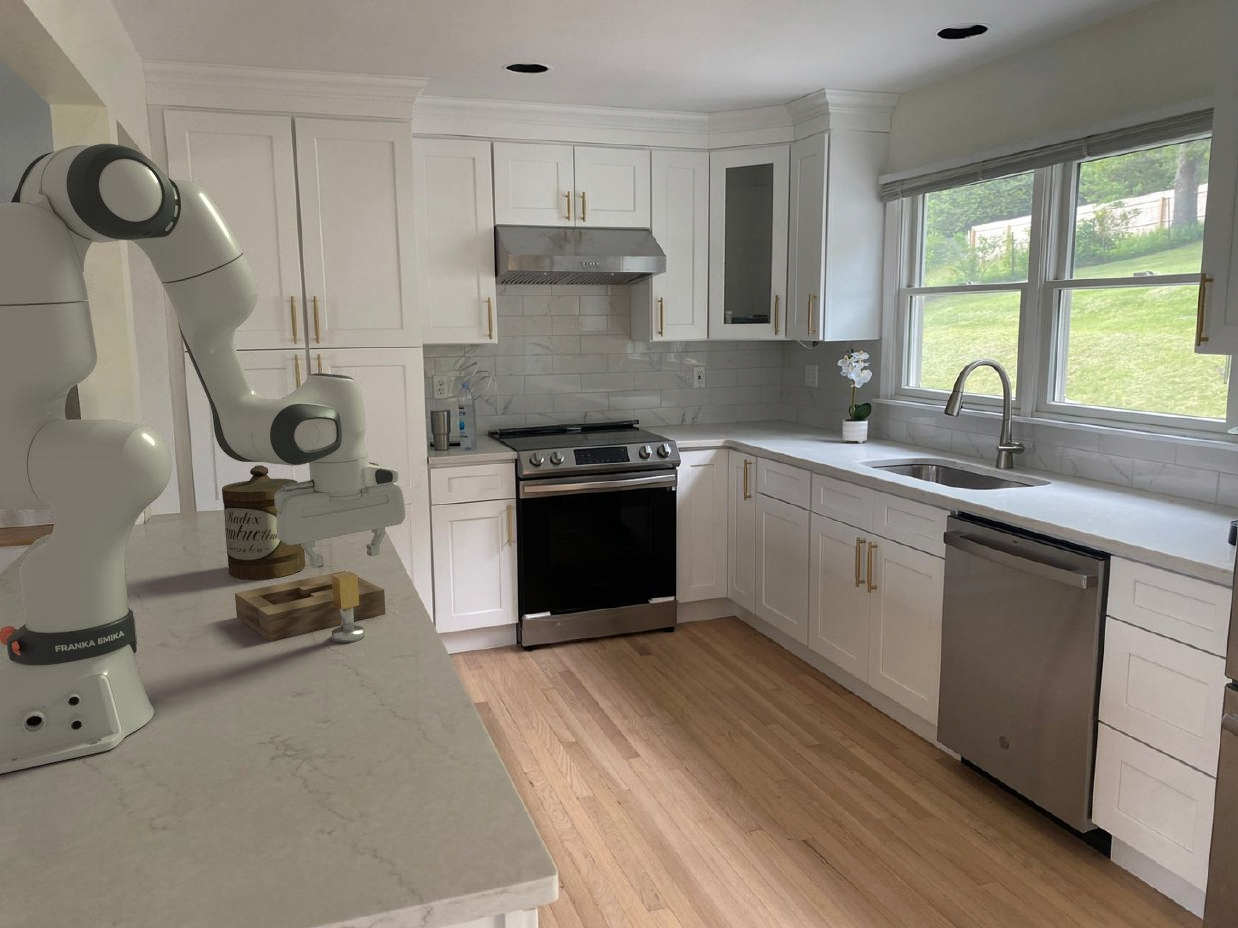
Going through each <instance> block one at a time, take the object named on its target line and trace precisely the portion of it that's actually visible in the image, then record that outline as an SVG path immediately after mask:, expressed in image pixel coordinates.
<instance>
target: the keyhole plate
mask: <svg viewBox="0 0 1238 928" xmlns="http://www.w3.org/2000/svg"><path fill="white" fill-rule="evenodd" d="M343 572H347V571H346V570H344V571H338V572H332V573H329V574H323V575H319V576H318V575H317V576H313V577H307V578H303V579H298V580H294V581H288V582H283V583H277V584H274V585H273V584H272V585H268V586H263V587H259V588H253V589H248V590H243V591H238V592H235V593H234V599H235V601H234V602H235V613H236V618H237V619H238V618H239V620H240V621H241V622H242V623H243V624H245V623H246V624H245V625H247V626H248V627H250V628H251V629H252V628H253V629H252V630H254V631H255V632H257V633H258V634H259V635H261V636H262V637H263V638H265V639H266V640H267V641H269V642H273V641H277V640H282V639H286V638H290V637H294V636H298V635H302V634H306V633H311V632H314V631H318V630H323V629H328V628H332V627H336V626H341V616H340V608H338V607H336V606H335V605H333V590H332V575H333V574H338V573H343ZM357 577H358V593H359V605H358V606H353V615H354V622H356V621H361V620H364V619H368V618H374V617H377V616H381V615H385V614H386V613H387V612H386V596H385V588H383V587H380V586H378V585H377V584H374V583H372V582H370V581H367V580H365V579H363V578H361V577H359V576H357Z"/></svg>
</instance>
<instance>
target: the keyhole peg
mask: <svg viewBox="0 0 1238 928" xmlns="http://www.w3.org/2000/svg"><path fill="white" fill-rule="evenodd" d="M358 577H359V576H358V574H356V573H354V572H351V571H349V570H348V571H346V572H343V573H338V574H333V575H332V590H333V605H335V606H336V607H338V608H340V616H341V624H340V627H336V628H334V629H333V630H332V631H331V639H332V642H333V643H337V644H352V643H355V642H359V641H360V640H361V641H362V640H363V639H365V628H364V627H363V626H361V625H355V621H354V615H353V606H358V605H359V593H358Z"/></svg>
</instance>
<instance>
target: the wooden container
mask: <svg viewBox="0 0 1238 928" xmlns="http://www.w3.org/2000/svg"><path fill="white" fill-rule="evenodd" d="M249 473H250V475H252V476H251V478H250V479H249V480H244V481H238V482H233V483H229V484H226V485H224V486H222V487H221V495H222V497H221V498H222V502H223V511H224V513H223V514H224V526H225V528H224V531H225V545H226V555H227V565H228V574H229V576H230V577H232V578H235V579H240V580H245V579H247V580H249V581H250V580H251V581H254V580H255V581H256V580H257V581H258V580H271V579H274V578H275V579H276V578H281V577H282V578H283V577H286V576H291V575H293V574H296V573H298V572H301V571H302V570H303V569H305V567H306V552H305V550H304V549H303V548H302V546H301V543H300V544H295V545H287V544H285V543H283V542H282V541H280V540H279V539H278V537H277V533H276V520H277V511H276V509H275V501H274V496H275V493H276V492H277V490H278V489H280V488H282V487H283V485H285V484H289V483H292V484H294V483H299V481H297V480H295V479H291V478H271V477H270V476H269V475H268V474H269V469H268V467H266V466H265V465H261V464H260V465H259V464H258V465H254V467H252V468H250V470H249ZM283 491H284V490H282V491H280V492H283Z"/></svg>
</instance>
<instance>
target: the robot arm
mask: <svg viewBox="0 0 1238 928" xmlns="http://www.w3.org/2000/svg"><path fill="white" fill-rule="evenodd" d="M118 241H131V242H132V243H134V244H135V245H137V246H138V248H140V249H141V251H142V252H143V253H144V254H145V256H146V257H147V258H148V259H149V260H150V262H151V265H152V267H153V269H154V271H155V273H156V275H157V277H158V279H159V281H160V283H161V285H162V287H163V288H164V290H165V292H166V295H167V297H168V298H169V300H170V303H171V305H172V307H173V309H174V311H175V314H176V318H177V321H178V327H179V328H178V329H179V331H180V335H181V339H182V341H183V344H184V346H185V349H186V351H187V354H188V356H189V359H190V361H191V363H192V365H193V368H194V370H195V372H196V374H197V377H198V379H199V382H200V383H201V386H202V389H203V391H204V393H205V395H206V398H207V399H208V403H209V405H210V409H211V415H212V423H213V430H214V431H213V432H214V435H215V436H214V437H215V438H216V439H215V440H216V442H217V444H218V446H219V448H220V449H221V450H222V451H223V453H224V454H226V456H227V457H229V458H231V459H234V461H238V462H243V463H266V464H273V465H284V466H291V467H292V466H300V465H301V466H302V465H307V464H308V463H309V464H308V466H309V467H308V469H309V480H305V481H300V482H299V481H298V483H294V484H292V483H289V484H285V485H283V487H282V488H280V489H278V490H277V492H276V493H275V496H274V501H275V509H276V511H277V520H276V533H277V537H278V539H279V540H280V541H282V542H283V543H285V544H287V545H295V544H300V543H301V546H302V548H303V549H304V552H305V554H307V556H308V557H309V565H310V568H312V569H318V568H323V567H324V565H325V564H324V556H323V555H321V554H319V553H316V552H315V551H314V549H313V548H315V547H316V542H317V541H320V540H326V539H332V538H335V537H341V536H346V535H351V534H356V533H361V532H368V531H371V533H373V537H372V538H371V541H370V542H369V543H367V544H366V547H365V548H366V549H367V550H366V554H367V556H368V557H374V556H375V557H376V556H379V555H380V554H381V553H380V552H381V551H380V549H381V548H380V545H381V544H382V541H383V539H384V537H385V535H386V528H387V527H388V528H389V527H394V526H398V525H402V524H403V522H404V520H405V519H406V505H405V504H406V503H405V497H404V492H403V488H402V487H401V486H400V484H398V483H397V482H398V481H399V477H400V476H399V472H398V470H397V469H395V468H392V467H389V466H386V465H381V464H378V463H375V462H369V458H368V451H367V449H366V446H365V435H366V429H367V427H366V415H365V414H366V412H365V407H364V406H365V405H364V400H363V395H362V391H361V388H360V385H359V383H358V382H357V380H356V379H354V378H353V377H351V376H348V375H343V374H334V373H333V374H332V373H324V372H322V373H321V372H318V373H317V372H316V373H312V374H309V375H307V377H306V379H305V381H304V382H303V383H302V384H301V385H300V386H299V387H298V388H296V389H295V390H294V391H292V392H291V393H289V394H287V395H285V396H283V397H281V399H279V398H278V399H276V398H275V399H274V398H267V397H265V396H263V395H261V394H259V393H258V392H257V391H256V390H255V389H254V388H253V387H252V385H251V382H250V381H249V377H248V376H247V373H246V370H245V369H244V365H243V363H242V361H241V358H240V356H239V353H238V350H237V348H236V346H235V340H234V339H235V338H234V337H235V332H236V330H237V329H238V328H239V327H240V326H242V324H244V323H245V322H246V321H247V320H248V319H249V317H250V316H251V314H252V313H253V312H254V309H255V307H256V304H257V302H258V296H259V289H258V285H257V281H256V278H255V275H254V272H253V269H252V267H251V265H250V263H249V260H248V259H247V257H246V255H245V253H244V251H243V249H242V246H241V244H240V242H239V241H238V239H237V237H236V234H235V233H234V231H233V230H232V228H231V226H230V225H229V223H228V221H227V220H226V218H225V217H224V215H223V213H222V212H221V210H220V209H219V207H218V206H217V204H216V203H215V201H213V199H212V197H210V195H209V193H208V192H207V191H206V190H205V189H204V188H203V186H201V185H199V184H197V183H196V182H191V181H190V180H184V179H183V180H182V179H171V177H169V176H168V175H166V174H165V173H164V172H163V171H162V169H160V167H159V166H158V165H157V164H156V163H155V162H153V161H152V160H151V159H150V158H149V157H147V156H146V155H144V154H142V153H141V152H139V151H137V150H135V149H133V148H131V147H127V146H124V145H120V144H115V143H100V144H99V143H98V144H94V145H88V144H87V145H86V144H79V145H72V146H67V147H64V148H61V149H57V150H55V151H51V152H48V153H45V154H41V155H40V156H38V157H37V158H35V159H34V160H33V161H32V162H31V163H30V164H29V165H28V166H27V167H26V168H25V170H24V171H23V173H22V175H21V177H20V180H19V183H18V186H17V188H16V191H15V192H14V194H13V195H12V199H11V201H10V202H6V203H0V509H2V510H13V511H14V510H16V511H17V510H19V511H21V510H22V511H23V510H25V511H26V510H29V511H34V510H35V511H43V510H44V511H45V510H46V511H53V515H54V516H53V517H54V520H53V521H54V522H53V529H52V532H51V535H50V538H49V539H48V540H46V541H45V542H43V543H41V544H40V545H38V546H36V547H35V548H34V549H32V550H31V551H30V552H29V553H28V554H27V555H26V556H25V557H24V559H23V560H22V561H21V564H20V567H19V571H18V575H19V582H20V583H19V584H20V592H21V599H22V608H23V609H22V610H23V616H24V617H23V618H24V624H23V625H21V627H19V628H18V629H17V628H15V626H13V625H7V626H4V627H1V629H0V643H2V645H4V646H6V650H7V654H8V655H7V656H8V658H9V659H8V660H7V661H6V662H5V663H4V664H3V665H2V666H0V774H6V773H10V772H14V771H19V770H23V769H28V768H32V767H38V766H43V765H46V764H50V763H55V762H61V761H65V760H69V759H74V758H79V757H84V756H88V755H94V754H97V753H102V752H107V751H110V750H112V749H113V748H115V747H117V746H118V745H119V744H120V743H121V742H122V741H123V740H124V739H125V737H127V736H129V735H130V734H132V733H134V732H135V731H137V730H139V729H140V728H142V727H143V726H144V725H146V724H147V723H148V722H150V721H151V719H152V718H153V716H154V714H155V709H154V707H153V705H152V703H151V701H150V699H149V697H148V695H147V691H146V689H145V686H144V682H143V680H142V677H141V674H140V673H141V672H140V669H139V665H138V661H137V657H136V653H137V649H138V647H137V646H138V634H137V625H136V618H135V617H134V611H133V610H131V608H130V607H129V597H128V584H127V583H128V582H127V561H126V559H127V548H128V544H129V539H130V536H131V533H132V530H133V528H134V526H135V523H136V522H137V520H138V519H139V517H140V515H141V514H142V513H143V512H144V510H146V508H147V507H149V506H150V505H151V504H152V503H153V502H155V501H156V500H157V499H158V498H159V497H160V496H161V495H162V494H163V493H164V491H165V489H166V487H167V486H168V483H169V481H170V478H171V475H172V468H173V462H172V455H171V452H170V449H169V446H168V445H167V443H166V441H165V440H164V438H163V436H161V435H160V433H159V432H158V431H156V430H155V429H154V428H152V427H149V426H147V425H142V424H138V423H133V422H129V421H128V422H127V421H122V420H118V419H117V420H116V419H67V418H66V401H67V397H68V394H69V393H70V391H71V389H72V388H74V387H75V386H77V385H79V384H81V383H82V382H83V381H84V380H86V379H87V378H88V377H89V376H90V375H91V374H92V373H93V372H94V370H95V367H96V366H97V362H98V351H97V347H96V341H95V340H96V339H95V332H94V327H93V320H92V314H91V308H90V301H89V297H88V295H89V294H88V290H87V285H86V281H85V276H84V273H85V260H86V256H87V252H88V251H89V248H90V247H91V245H92V244H93V243H96V244H97V243H100V244H103V243H111V242H113V243H114V242H118ZM282 490H284V491H283V492H280V491H282Z"/></svg>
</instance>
